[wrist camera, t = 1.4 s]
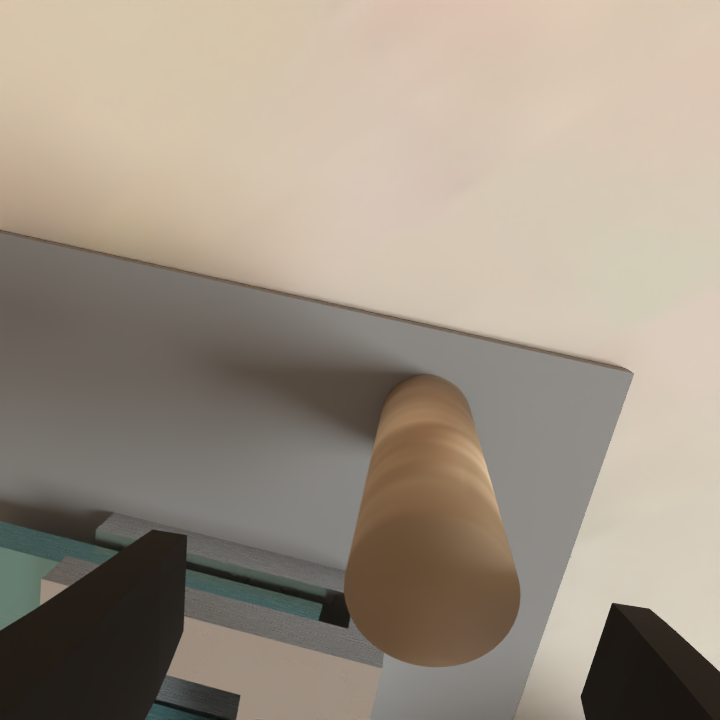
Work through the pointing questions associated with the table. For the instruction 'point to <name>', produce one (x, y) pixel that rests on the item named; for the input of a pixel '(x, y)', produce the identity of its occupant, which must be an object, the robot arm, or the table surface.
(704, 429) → the table surface
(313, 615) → the peg hole fixture
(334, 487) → the rubber mat
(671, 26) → the table surface
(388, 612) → the maple pin
